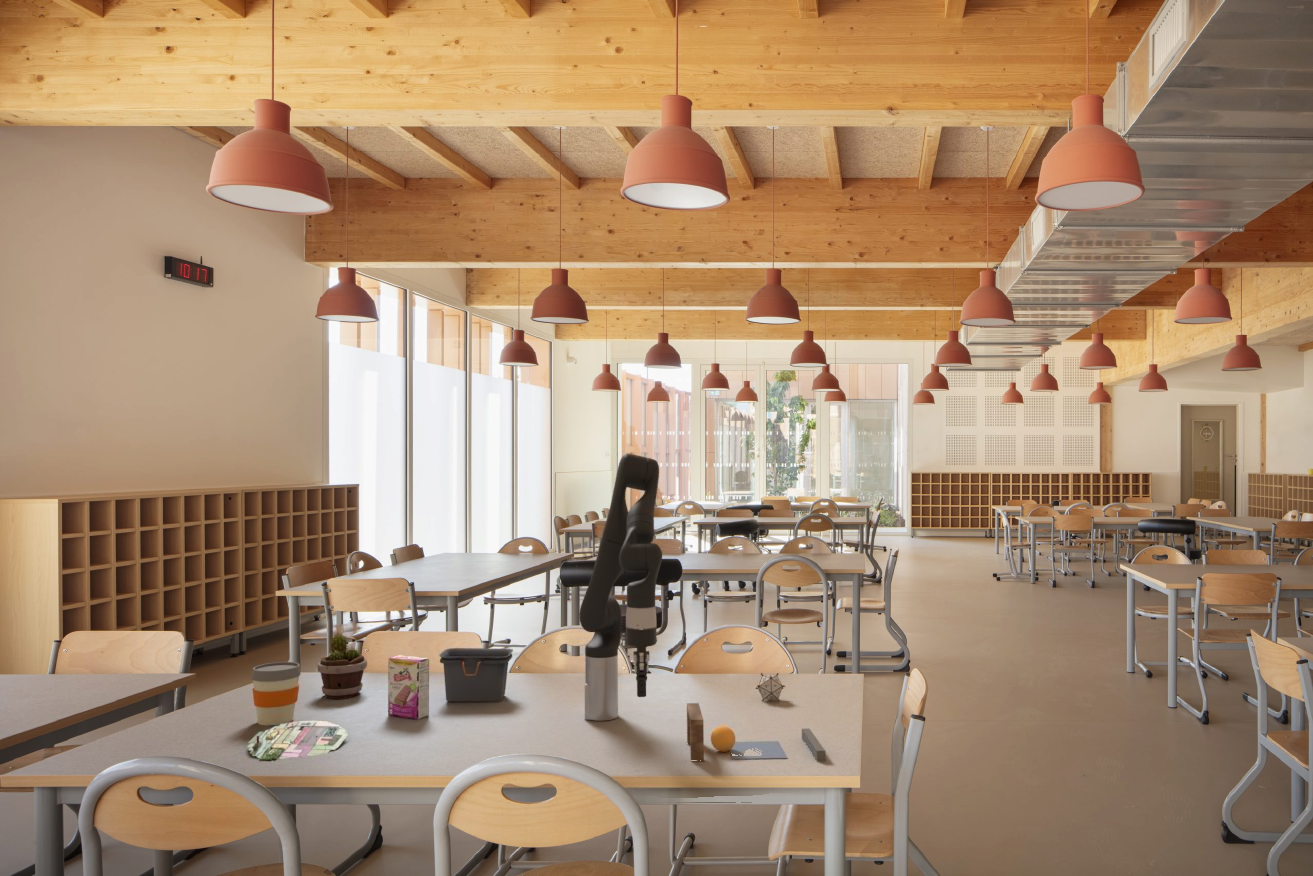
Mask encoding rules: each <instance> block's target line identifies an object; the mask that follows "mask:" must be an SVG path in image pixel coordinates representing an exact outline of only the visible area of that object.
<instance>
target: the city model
mask: <svg viewBox="0 0 1313 876" xmlns="http://www.w3.org/2000/svg"><path fill="white" fill-rule="evenodd" d="M347 731H348V730H347V729H346V728H343V727H341V725H338V723H336V724H334V723H333V722H332V723H331V722H330V721H324V720H299V721H291V722H287V723H284V724H279V725H274V726H273V727H271V728H269V729H265V730H263V731H258V732H257V733H256V734H255V735H254V736H253V737H252V738H251V739H250V740H249V741H248V742H247V743H248V745H247V748H248V751H250V752H249V754H251V755H252V757H256V758H257V759H258V761H269V760H270V761H271V760H275V761H277V760H281V759H291V758H302V757H311V756H319V755H320V756H321V755H327V754H329V752H331V751H335V750H336V749H339V747H340V746H341V745H342V743H343V742H344V740H346V738H347V736H348V735H349V733H348V732H347ZM346 732H347V733H346Z"/></svg>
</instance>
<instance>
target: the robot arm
mask: <svg viewBox="0 0 1313 876" xmlns="http://www.w3.org/2000/svg"><path fill="white" fill-rule="evenodd" d="M659 478H660V465H659V462H658V460H655V459H653V458H650V457H647V456H641V455H637V454H633V453H628V452H626V453H624V454H623V455H621V458H620V460H619V463H618V466H617V471H616V476H615V481H614V487H613V491H612V496H611V502H610V505H609V510H608V514H607V517H606V521H605V524H604V527H603V530H602V535H601V538H600V541H599V547H598V550H597V554H596V559H595V562H594V566H593V570H592V574H591V577H590V580H589V583H588V587H587V589H586V592H585V593H584V596H583V600H582V602H581V605H580V608H579V613H578V617H579V623H580V626H581V627H582V629H583V630H584V631H586V632H588V633H593V636H592V638H590V640H589V642H587V643H586V644H585V648H584V657H585V658H584V663H585V664H584V666H585V667H584V683H585V684H584V720H589V721H599V722H600V721H604V722H605V721H611V720H614V719H617V718H618V717H619V658H618V657H619V647H620V645H621V640H622V639H621V638H622V637H621V636H622V620H623V619H622V610H621V609H622V608H621V606H620V604H619V602H618V600H616V598H614V597H613V596H610V595H611V592H612V588H613V587H614V584H615V583H616V581H617V580H618V579H619V578H620V576H621V574H622V573H623V571H625V573H647V575H646V577H645V578H643V579H640V580H636V581H632V582H629V583H628V584H627V586H626V612H625V643H626V645H627V646H630V647H636V650H635V651H634V650H633V653H632V654H633V663H634V673H635V674H636V676H635V680H636V696H637V697H638V698H645V697H647V680H648V676H647V675H648V673H649V670H650V669H649V666H650V665H649V661H650V651H649V650H647V647H652V646H655V645H656V644H657V641H658V640H657V639H658V638H657V635H658V633H657V611H656V585H657V579H658V576H659V575H658V574H659V571H660V567H661V564H662V562H663V561H662V560H663V551H662V549H661V546H659V544H657V543H653V541H654V538H655V518H654V517H655V516H654V515H655V508H656V501H657V494H658V486H659ZM627 488H629V489H631V490H632V489H633V490H638V491H644V494H643V495H642V496H641V497H640V498H639V499H638V500H637V501H636V502H635V503H634V504H632V506H631V507H630V508H629V509H628V506H627V500H626V492H627Z"/></svg>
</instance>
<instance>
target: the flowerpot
mask: <svg viewBox="0 0 1313 876" xmlns="http://www.w3.org/2000/svg"><path fill="white" fill-rule="evenodd" d="M331 636H332V637H331V638H330V644H329V649H330V653H329V654H330V655H328V656H324V657H321V659H320V661H319V662H318V663H317V667H316V668H317V672H318V673H320V677H321V680H322V684H323V685H321V691H322V693H323V695H324V696H325V698H326V699H334V700H341V699H343V700H344V699H347V698H352V697H354V696H358V695H359V694H360V692H361V691H362V688H363V682H362V679H363V676H364V670H365V669H366V668H368V667H367V666H368V660H367V659H366V658H365V656H363V655H362V654H361V653H360V651H358V649H357V648H355V647H354V646H352V645H350V646H349V640H348V636H345V635H343V632H341V631H336V633H335V632H333V635H331Z"/></svg>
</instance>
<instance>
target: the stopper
mask: <svg viewBox="0 0 1313 876" xmlns="http://www.w3.org/2000/svg"><path fill="white" fill-rule="evenodd" d="M801 740H802V741H803V743H804V742H805V743H806V744H805V743H804V744H805V745H807V746H808V747H807V746H806V747H807V749H808V748H809V749H810V750H809V749H808V750H809V752H810V751H811V752H812V753H811V752H810V753H811V755H812V754H813V755H814V756H813V755H812V756H813V758H814V757H815V758H814V759H815V761H816V760H817V761H825V762H826V750H825V748H824V747H823V746H822V744H821V743H820V741H819V740H818V739H817V737H816V735H815V734H814V733H813V731H812V729H810V728H801ZM817 761H816V762H817Z"/></svg>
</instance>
